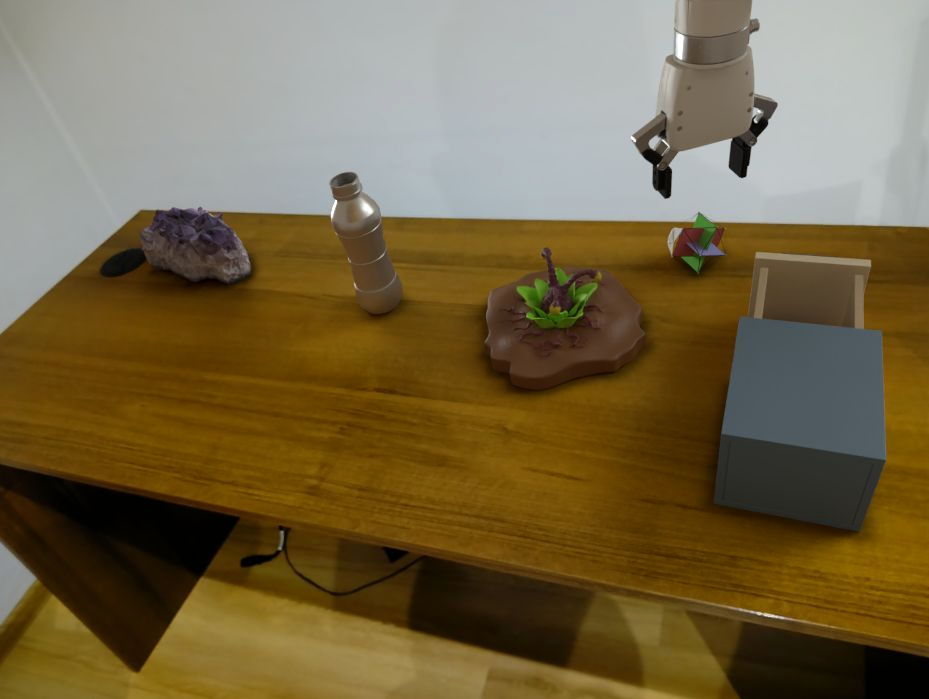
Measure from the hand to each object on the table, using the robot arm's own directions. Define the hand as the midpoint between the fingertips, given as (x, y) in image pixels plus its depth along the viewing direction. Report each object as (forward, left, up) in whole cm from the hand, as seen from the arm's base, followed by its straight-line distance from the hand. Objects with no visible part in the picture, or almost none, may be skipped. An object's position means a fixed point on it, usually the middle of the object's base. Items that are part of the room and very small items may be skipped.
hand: (700, 182), depth 88 cm
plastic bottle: (+42, -10, -12) cm, 45 cm away
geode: (+68, -34, -12) cm, 77 cm away
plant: (+21, +5, -12) cm, 25 cm away
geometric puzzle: (0, 0, -12) cm, 12 cm away
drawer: (-3, +20, -11) cm, 23 cm away
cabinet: (+6, +32, -12) cm, 35 cm away
